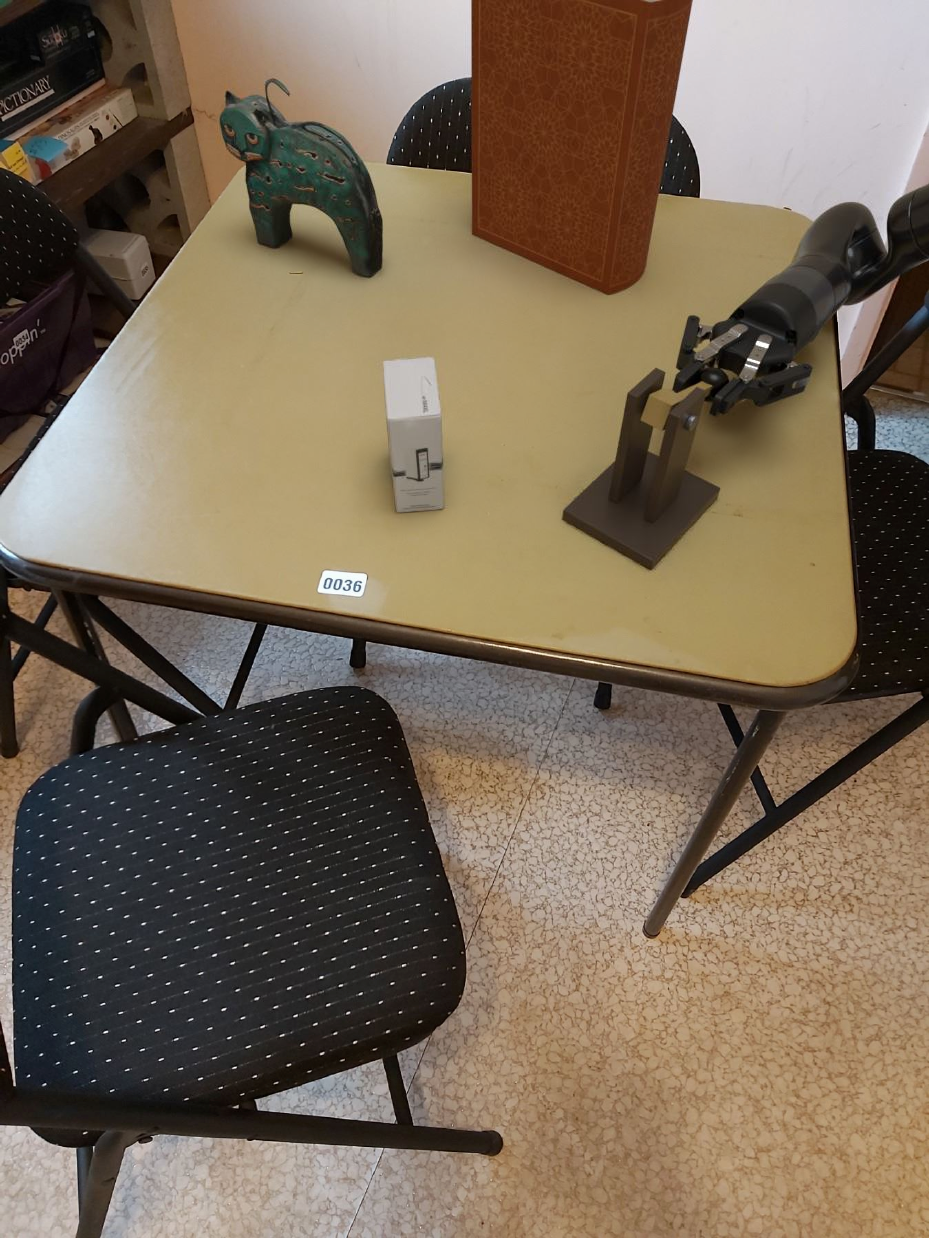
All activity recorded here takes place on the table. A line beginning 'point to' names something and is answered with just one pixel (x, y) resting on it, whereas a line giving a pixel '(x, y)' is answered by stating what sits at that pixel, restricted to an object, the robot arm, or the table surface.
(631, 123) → the book
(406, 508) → the ink box
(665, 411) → the lever
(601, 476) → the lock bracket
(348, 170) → the ceramic cat
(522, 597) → the table surface
